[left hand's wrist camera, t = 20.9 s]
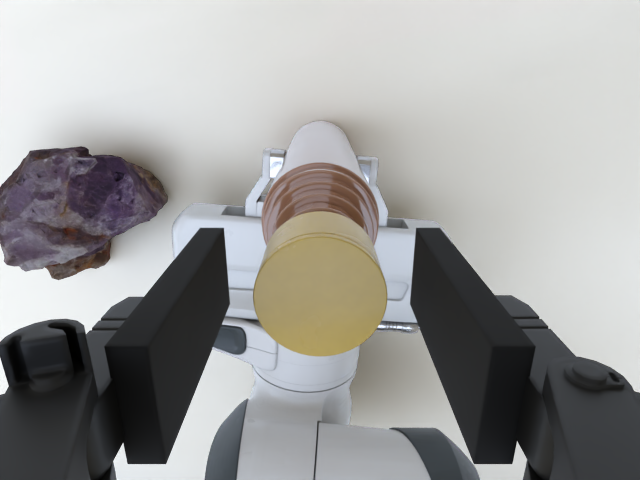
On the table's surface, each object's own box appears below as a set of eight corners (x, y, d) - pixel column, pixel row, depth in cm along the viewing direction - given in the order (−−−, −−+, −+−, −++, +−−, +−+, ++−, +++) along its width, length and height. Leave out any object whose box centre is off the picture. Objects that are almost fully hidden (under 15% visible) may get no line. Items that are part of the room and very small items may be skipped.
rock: (187, 208, 40) (111, 111, 36) (170, 234, 32) (71, 111, 28) (81, 279, 40) (-3, 188, 37) (38, 322, 32) (-74, 211, 29)
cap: (242, 280, 15) (228, 317, 12) (301, 188, 13) (298, 210, 11) (336, 332, 15) (339, 377, 13) (399, 249, 14) (414, 281, 12)
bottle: (354, 175, 37) (418, 348, 13) (297, 186, 38) (256, 376, 14) (344, 115, 36) (394, 189, 12) (284, 127, 36) (211, 225, 12)
